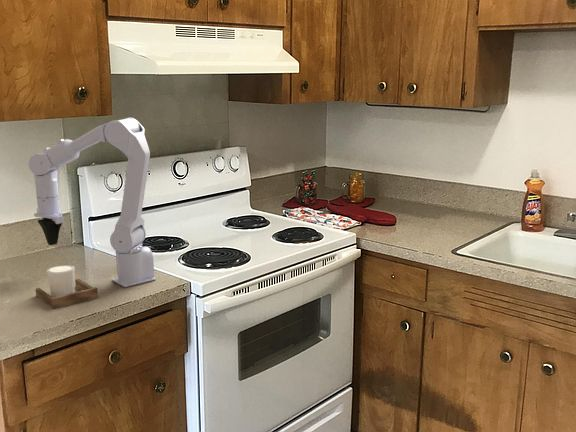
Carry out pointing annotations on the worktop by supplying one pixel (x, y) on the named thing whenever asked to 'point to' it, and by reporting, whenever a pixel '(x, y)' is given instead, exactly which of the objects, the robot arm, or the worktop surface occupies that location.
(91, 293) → the walnut bay
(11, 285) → the worktop surface
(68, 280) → the white cylinder
